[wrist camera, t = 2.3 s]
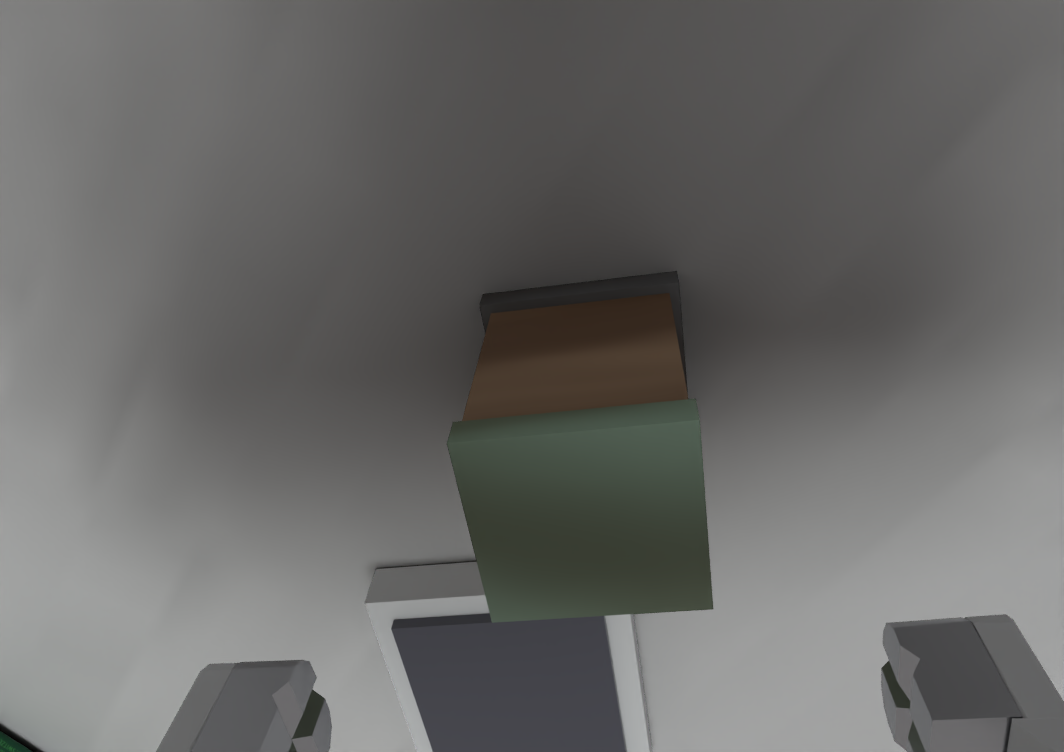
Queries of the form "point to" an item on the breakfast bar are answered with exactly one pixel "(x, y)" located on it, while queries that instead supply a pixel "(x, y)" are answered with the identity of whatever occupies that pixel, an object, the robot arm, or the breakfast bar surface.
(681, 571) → the stamp
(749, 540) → the breakfast bar surface
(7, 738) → the coffee box
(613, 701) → the ink pad
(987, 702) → the robot arm
